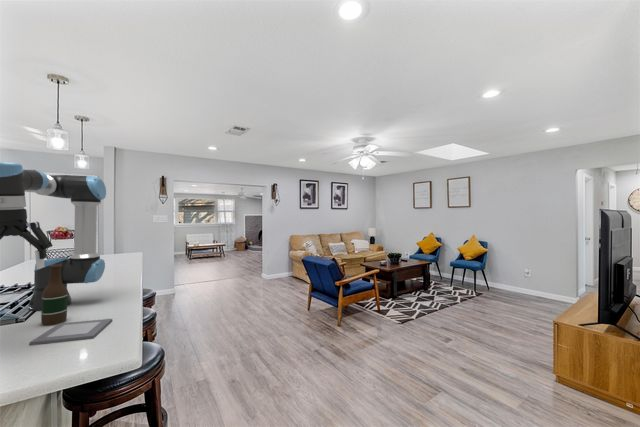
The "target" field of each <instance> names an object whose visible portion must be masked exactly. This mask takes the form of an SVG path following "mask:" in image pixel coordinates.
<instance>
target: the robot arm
mask: <svg viewBox="0 0 640 427" xmlns="http://www.w3.org/2000/svg"><path fill="white" fill-rule="evenodd" d="M26 193H36V194H37V195H40V196H47V197H54V198H60V199H69V200H70V203H71V204H73V205H74V232H73V233H74V234H73V235H74V237H73V238H74V241H73V249H74V250H73V254H71V256H69V257H66V256H63V257H62V256H61V257H56V258H48V259H46V258H47V249H48V248H52V247H53V243H52V241H50V239H49V237H48V236H47V235H46V233H44V231H43V229H42V228H41V225H40V222H39V221H33V222H28V212H27V211H28V210H27V209H26V208H25V207H27V203H26V202H27V201H26ZM106 196H107V188H106V185H105V182H104V181H103V180H102V179H101V177H98V176H95V175H94V176H93V175H70V174H55V175H54V174H52V175H50V174H46V173H44V172H43V171H40V170H36V169H24V168H23V164H21V163H18V162H10V161H9V162H8V161H7V162H5V161H3V162H2V161H0V241H1V240H2V239H3V238H4V237H9V236H11V237H21V238H22V239H24V240H25V241H27V242H28V243H29V244H30V245H31V246H32V247H34V248H35V249H36V250H34V253H35V254H34V255H35V257H34V258H35V265H34V270H33V271H34V277H33V278H34V279H33V280H34V282H33V286H34V287H33V294H32V295H31V298H30V300H29V302H28V304H27V305H28V306H29V307H31V308H33V309H30V308H28V306H27V308H28V309H27V310H28V311H32V312H33V311H35V312H37V311H39V312H40V311H42V293H43V291H44V289H45V288H46V287H47V285H48V283H49V278H50V269H51V268H50V265H54V264H61V265H62V267H61V278H62V284H63V285H64V286H65V287H66V289H67V306H69V305H70V304H71V303H72V297H71V294H70V292H69V289H68V285H69V284H90V283H91V284H92V283H96V282H98V281H99V280H100V279H101V278H102V277H103V275H104V272H105V269H106V263H105V260H104V259H102V258H101V255H100V254H99V253H98V252H97V231H98V230H97V229H98V228H97V225H98V224H97V223H98V222H97V221H98V206H99V205H100V204H101V203H102V202H101V201H102V200H104V199H105V198H106ZM28 228H29V229H30V230H31V231H32V232H31V231H30V230H29V229H28ZM32 233H33V234H32Z"/></svg>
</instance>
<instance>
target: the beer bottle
mask: <svg viewBox="0 0 640 427" xmlns="http://www.w3.org/2000/svg"><path fill="white" fill-rule="evenodd" d="M61 267H62V265H61V264H54V265H50V268H51V269H50V278H49V283H48V285H47V287H46V288H45V289H44V291H43V293H42V310H40V311H41V312H40V313H41V317H40V318H41V320H40V322H41V325H42V326H46V327H49V326H56V325H58V324H59V323H65V322H66V321H67V317H68V305H67V289H68V288H67V289H66V287H65V286H64V285H63V284H62V278H61Z"/></svg>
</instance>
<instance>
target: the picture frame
mask: <svg viewBox="0 0 640 427" xmlns="http://www.w3.org/2000/svg"><path fill="white" fill-rule="evenodd" d="M112 322H113V318H104V319H94V320H82V321H81V320H80V321H71V322H62V323H59V324H56V325H53V327H51V328H50V329H48V330H47V331H44V333H42V334H41V335H39V336H37V337H36V338H34V339H32V340H31V341H29V344H28V346H36V345H45V344H54V343H55V344H56V343H63V342H72V341H74V342H75V341H83V340H92V339H93V340H94V339H95V337H97V336H98V335H99V334H100V333H101V332H102V331H104V329H105V328H107V326H108V325H110V324H111V323H112Z"/></svg>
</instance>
